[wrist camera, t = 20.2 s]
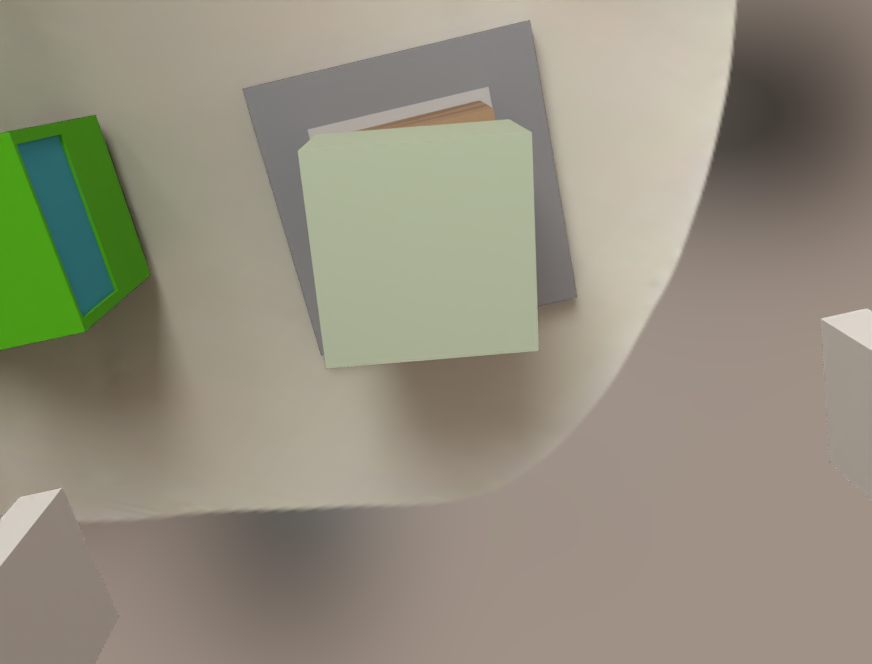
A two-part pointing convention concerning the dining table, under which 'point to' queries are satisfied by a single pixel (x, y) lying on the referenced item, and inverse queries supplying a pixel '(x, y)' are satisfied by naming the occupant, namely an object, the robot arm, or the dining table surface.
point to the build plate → (402, 98)
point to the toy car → (62, 233)
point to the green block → (422, 241)
